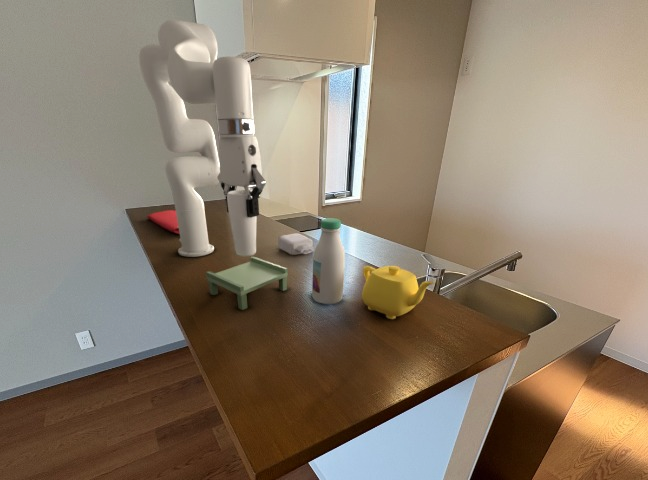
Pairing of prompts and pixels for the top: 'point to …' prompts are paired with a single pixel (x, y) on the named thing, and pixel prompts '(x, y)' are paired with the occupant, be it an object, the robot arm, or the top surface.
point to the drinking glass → (241, 223)
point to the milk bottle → (328, 264)
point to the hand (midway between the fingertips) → (242, 213)
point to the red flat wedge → (166, 220)
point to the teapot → (392, 290)
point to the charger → (295, 244)
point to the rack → (248, 278)
